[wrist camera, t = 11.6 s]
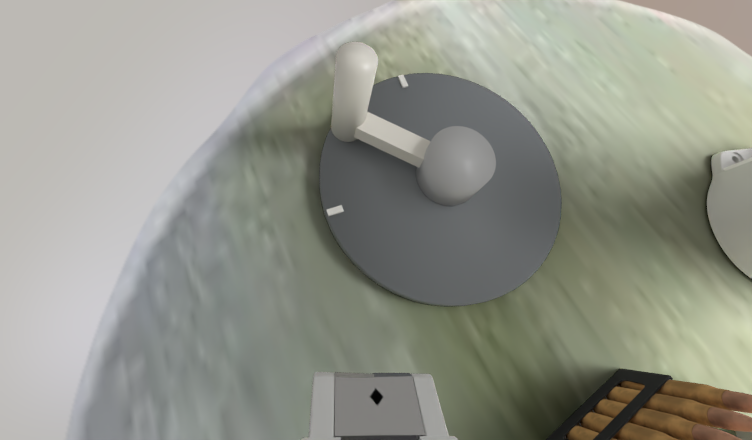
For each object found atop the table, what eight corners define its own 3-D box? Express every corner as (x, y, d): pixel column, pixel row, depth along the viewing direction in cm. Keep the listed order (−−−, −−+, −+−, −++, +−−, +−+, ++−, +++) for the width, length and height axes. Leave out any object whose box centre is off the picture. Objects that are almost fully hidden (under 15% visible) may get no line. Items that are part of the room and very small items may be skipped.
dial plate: (490, 64, 42) (497, 53, 40) (592, 256, 36) (605, 253, 34) (287, 109, 36) (285, 99, 34) (371, 348, 30) (374, 349, 29)
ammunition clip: (620, 367, 33) (778, 384, 22) (634, 385, 33) (801, 412, 21) (540, 444, 30) (675, 511, 19) (554, 465, 30) (700, 546, 18)
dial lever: (484, 164, 35) (539, 108, 27) (465, 216, 33) (518, 174, 25) (345, 99, 35) (355, 21, 26) (318, 147, 33) (319, 80, 24)
